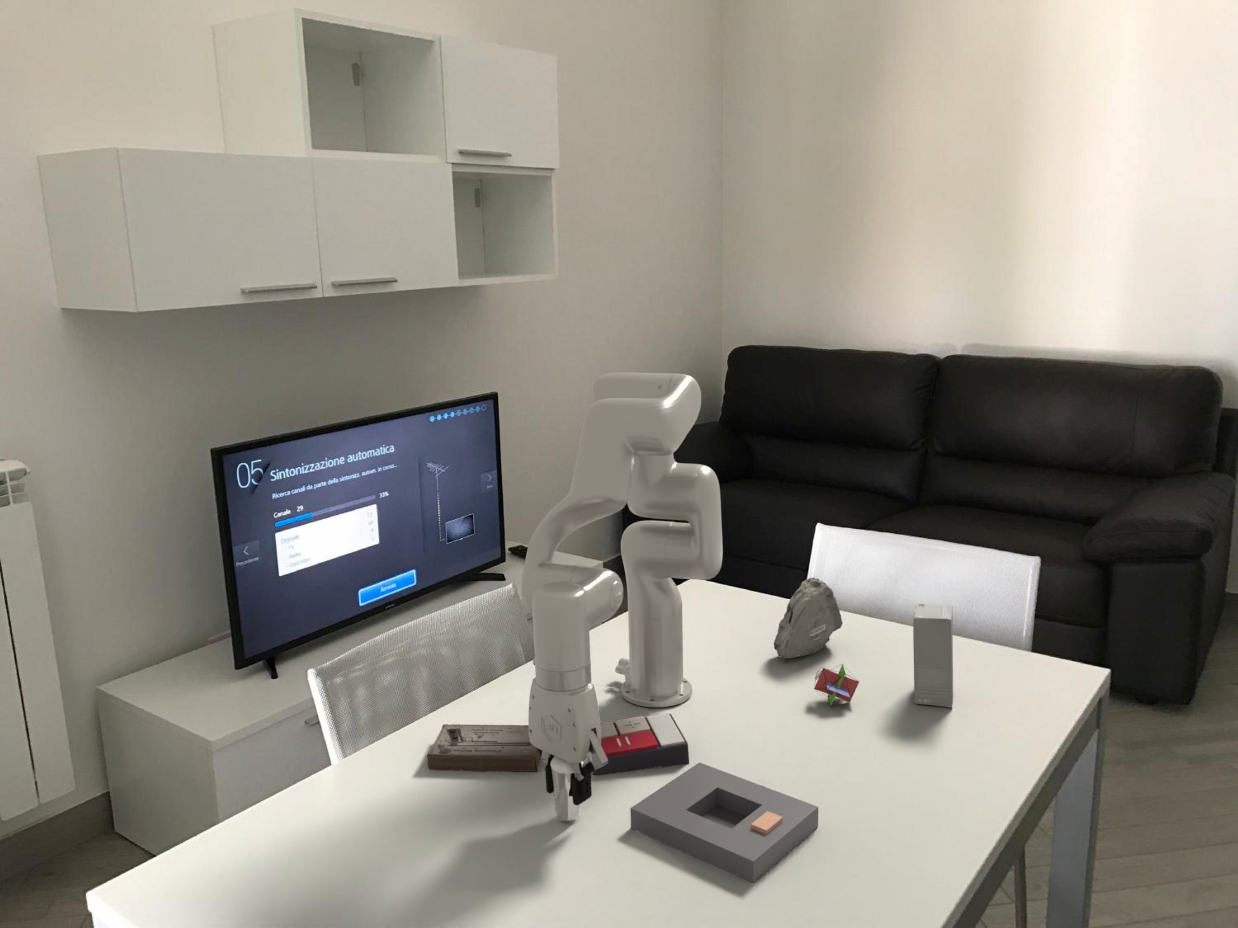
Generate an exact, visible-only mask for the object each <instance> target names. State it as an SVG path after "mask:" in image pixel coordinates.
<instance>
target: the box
mask: <svg viewBox="0 0 1238 928" xmlns="http://www.w3.org/2000/svg"><path fill="white" fill-rule="evenodd" d="M528 731H529V725H528V724H525V725H524V724H523V725H522V724H518V725H517V724H460V723H459V724H454V723H453V724H447V723H444V724H442V726H441V729H440V732H439V734H438V735H437V737H436V739H435V741H434V743H433V745H432V747H431V748H430V751H429V752H428V753H427V754H426V758H427V759H426V760H427V767H428V770H429V771H454V772H458V771H465V772H466V771H467V772H480V771H481V772H488V771H489V772H538V771H539V764H540V763H541V762H540V761H541V757H542V756H541V755H540V753H539V752H538V750H537V748H536V747H535V746H533V745H532V744H531V742H530V740H529V736H528Z"/></svg>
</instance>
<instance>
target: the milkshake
mask: <svg viewBox="0 0 1238 928" xmlns="http://www.w3.org/2000/svg"><path fill="white" fill-rule="evenodd" d="M581 765H582V767H584V765H585V763H584V760H583V761H582V762H581ZM551 772H552V780H553V786H554V792H553V793H554V794H553V795H554V796H553V797H554V806H555V816H556V818H558V820H560V821H564V822H565V821H566V822H569V821H573V820H576V819H577V818H578V817H579V815H580V805H581V804H580V805H578V806H577V805H574V804H573V794H572V779H573V778H574V777H575V773H574V769H573V764H572V763H571V762H568V761H566V760H564V759H561V758H559V757H556V756H554V758H553V759H552V761H551Z"/></svg>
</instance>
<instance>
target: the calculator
mask: <svg viewBox="0 0 1238 928" xmlns="http://www.w3.org/2000/svg"><path fill="white" fill-rule="evenodd" d="M600 724H601V747H602V749H603V751H604V753H605V755H606V757H607V759H608V763H607V764H606V765H604V766H603V767H601V768H599V769H596V770H595V771H594V772H593V773H591V774H592V776H594V777H595V776H596V777H597V776H607V775H614V774H619V773H621V774H622V773H629V772H636V771H642V770H648V769H652V768H653V769H654V768H658V767H661V768H668V767H674V766H675V767H676V766H683V765H684V766H685V765H688V764H690V756H689V755H690V752H689V743H688V741H687V740H686V737H685V736H684V734H683V733H682V730H681V729H680V727H679V726H678V723H677V722H676V720H675V719H674V717H673V715H672V713H669V712H664V713H658V714H653V715H647V716H644V715H640V716H635V717H627V718H623V719H617V720H615V722H613V721H610V720H609V721H604V722H600ZM592 759H593V757H592Z"/></svg>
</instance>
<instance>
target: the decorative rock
mask: <svg viewBox="0 0 1238 928" xmlns="http://www.w3.org/2000/svg"><path fill="white" fill-rule="evenodd" d="M842 627H843V620H842V615H841V611H840V608H839V605H838V603H837V598H836V597H835V595H834V590H833V589H832V588H831V587H829V585H828V584H827V583H826V582H824V581H823V580H821V579H819V578H816V577H810V578H807V579H805V580H803V581H802V582H801V583H800V586H799V588H798V589H797V590H796V591H795V592H794V593H793V595H792V596H791V598H789V601H788V603H787V605H786V611H785V613H784V614H783V618H781V620H779V623H778V629H777V633H776V636H775V639H774V641H773V649H774V650H775V651H776V654H777V656H778V657H779V658H780V659H781V658H785V659H794V658H797V657H803V656H807V655H809V656H810V655H814V654H816V652H818V651H820V650H821V649H822V648H823V647H824V646H825V645H826V644H827V643H829V642H830V640H831V639H830V637H831V635H832V634H833V633H834V632H835V631H837V630H839V629H841V628H842Z"/></svg>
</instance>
